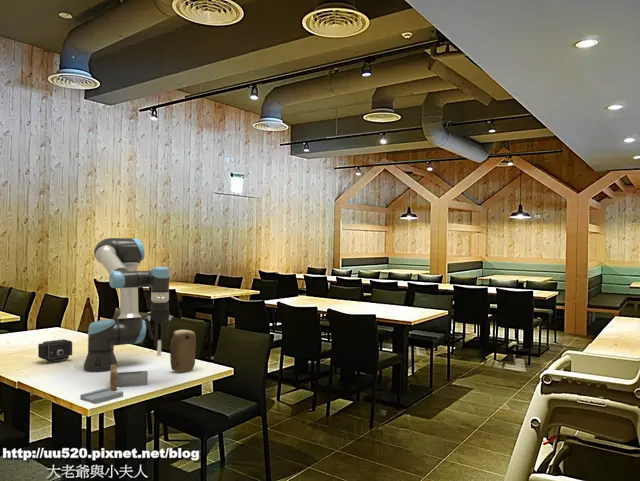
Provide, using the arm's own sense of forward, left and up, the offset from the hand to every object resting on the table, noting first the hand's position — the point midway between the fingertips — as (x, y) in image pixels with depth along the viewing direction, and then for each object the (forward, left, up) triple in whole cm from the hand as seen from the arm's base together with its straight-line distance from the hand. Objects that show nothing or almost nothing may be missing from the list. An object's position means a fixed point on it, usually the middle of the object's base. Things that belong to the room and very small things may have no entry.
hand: (159, 354), depth 223 cm
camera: (+4, -75, -13) cm, 76 cm away
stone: (-21, -8, -13) cm, 26 cm away
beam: (+15, -11, -12) cm, 22 cm away
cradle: (+27, 0, -12) cm, 30 cm away
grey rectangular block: (+9, -7, -10) cm, 15 cm away
